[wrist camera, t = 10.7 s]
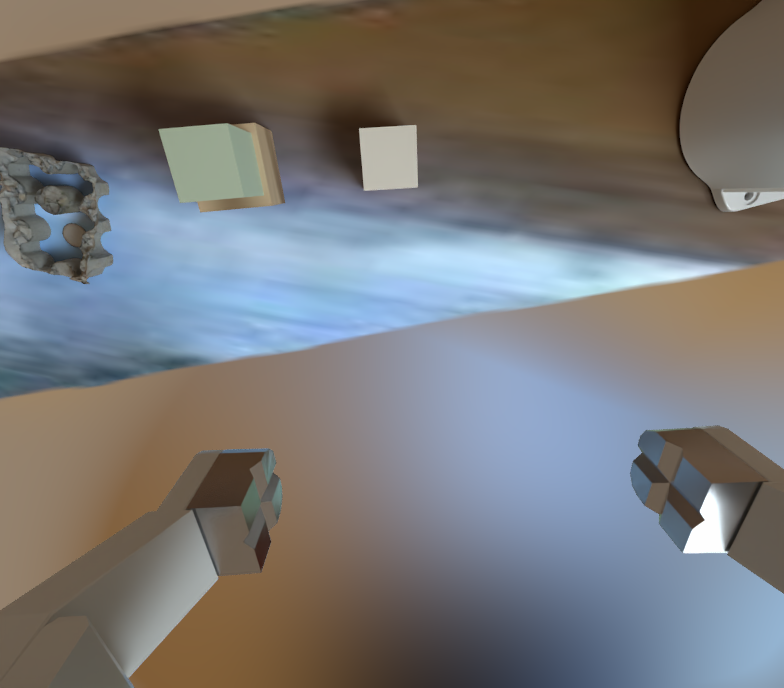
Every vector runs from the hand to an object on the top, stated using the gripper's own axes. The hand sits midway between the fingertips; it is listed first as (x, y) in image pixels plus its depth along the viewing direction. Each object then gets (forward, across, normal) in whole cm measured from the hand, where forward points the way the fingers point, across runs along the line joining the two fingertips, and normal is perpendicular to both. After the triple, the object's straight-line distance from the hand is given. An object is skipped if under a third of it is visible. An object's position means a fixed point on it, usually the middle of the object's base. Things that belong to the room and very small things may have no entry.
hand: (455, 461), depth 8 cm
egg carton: (+31, +31, -4) cm, 44 cm away
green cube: (+26, +14, -7) cm, 31 cm away
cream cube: (+32, +1, -7) cm, 32 cm away
